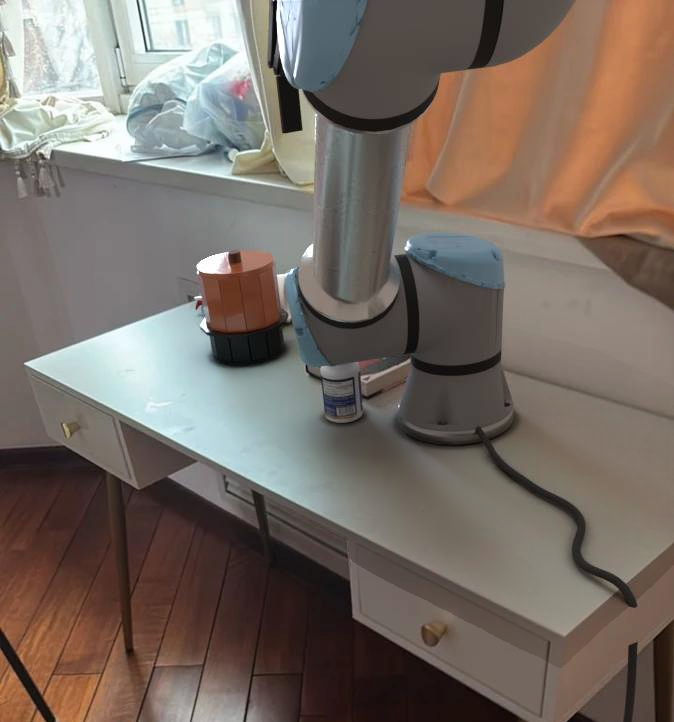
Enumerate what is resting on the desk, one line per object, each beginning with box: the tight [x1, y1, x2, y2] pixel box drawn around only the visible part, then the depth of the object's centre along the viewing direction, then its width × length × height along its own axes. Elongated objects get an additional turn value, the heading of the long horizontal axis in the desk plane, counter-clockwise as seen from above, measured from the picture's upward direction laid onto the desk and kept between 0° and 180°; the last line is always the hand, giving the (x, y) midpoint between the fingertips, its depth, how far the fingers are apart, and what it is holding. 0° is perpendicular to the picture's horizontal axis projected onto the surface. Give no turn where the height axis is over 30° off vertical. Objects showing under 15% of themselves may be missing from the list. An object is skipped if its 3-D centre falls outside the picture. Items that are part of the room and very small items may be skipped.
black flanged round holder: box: [199, 308, 288, 367], centre depth 139 cm, size 14×14×6 cm
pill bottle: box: [319, 362, 364, 424], centre depth 116 cm, size 5×5×10 cm
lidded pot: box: [196, 249, 282, 333], centre depth 134 cm, size 12×12×10 cm
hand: (312, 138), depth 109 cm, fingers open, 13 cm apart
